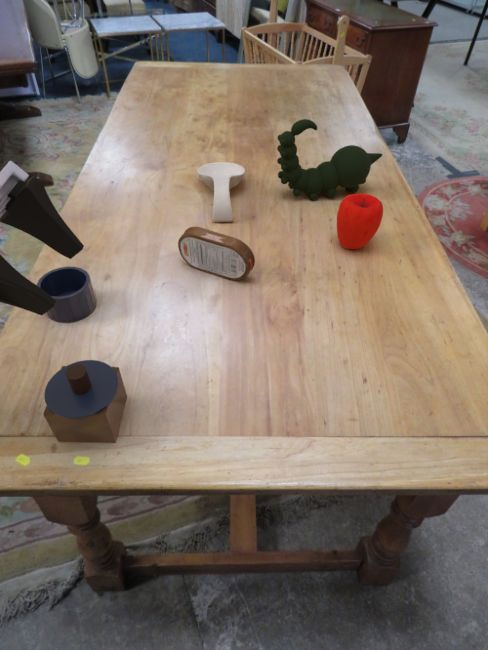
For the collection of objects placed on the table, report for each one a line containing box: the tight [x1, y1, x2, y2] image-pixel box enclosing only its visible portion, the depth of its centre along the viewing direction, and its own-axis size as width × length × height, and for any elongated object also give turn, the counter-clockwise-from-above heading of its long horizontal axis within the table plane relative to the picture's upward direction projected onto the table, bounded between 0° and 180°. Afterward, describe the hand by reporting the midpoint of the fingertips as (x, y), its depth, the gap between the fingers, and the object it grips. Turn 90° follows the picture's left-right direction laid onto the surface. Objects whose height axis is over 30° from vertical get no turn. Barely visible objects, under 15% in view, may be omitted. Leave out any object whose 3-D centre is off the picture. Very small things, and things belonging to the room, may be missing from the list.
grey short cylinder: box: [36, 265, 98, 324], centre depth 74 cm, size 8×8×5 cm
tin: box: [177, 226, 256, 281], centre depth 80 cm, size 15×3×8 cm, turn 65°
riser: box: [42, 365, 128, 444], centre depth 58 cm, size 8×8×6 cm
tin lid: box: [43, 359, 119, 420], centre depth 54 cm, size 9×9×4 cm
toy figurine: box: [276, 118, 383, 201], centre depth 100 cm, size 9×19×25 cm
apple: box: [336, 192, 384, 250], centre depth 87 cm, size 9×9×11 cm
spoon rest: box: [196, 161, 246, 223], centre depth 101 cm, size 24×12×7 cm, turn 4°
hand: (64, 278), depth 41 cm, fingers open, 7 cm apart
